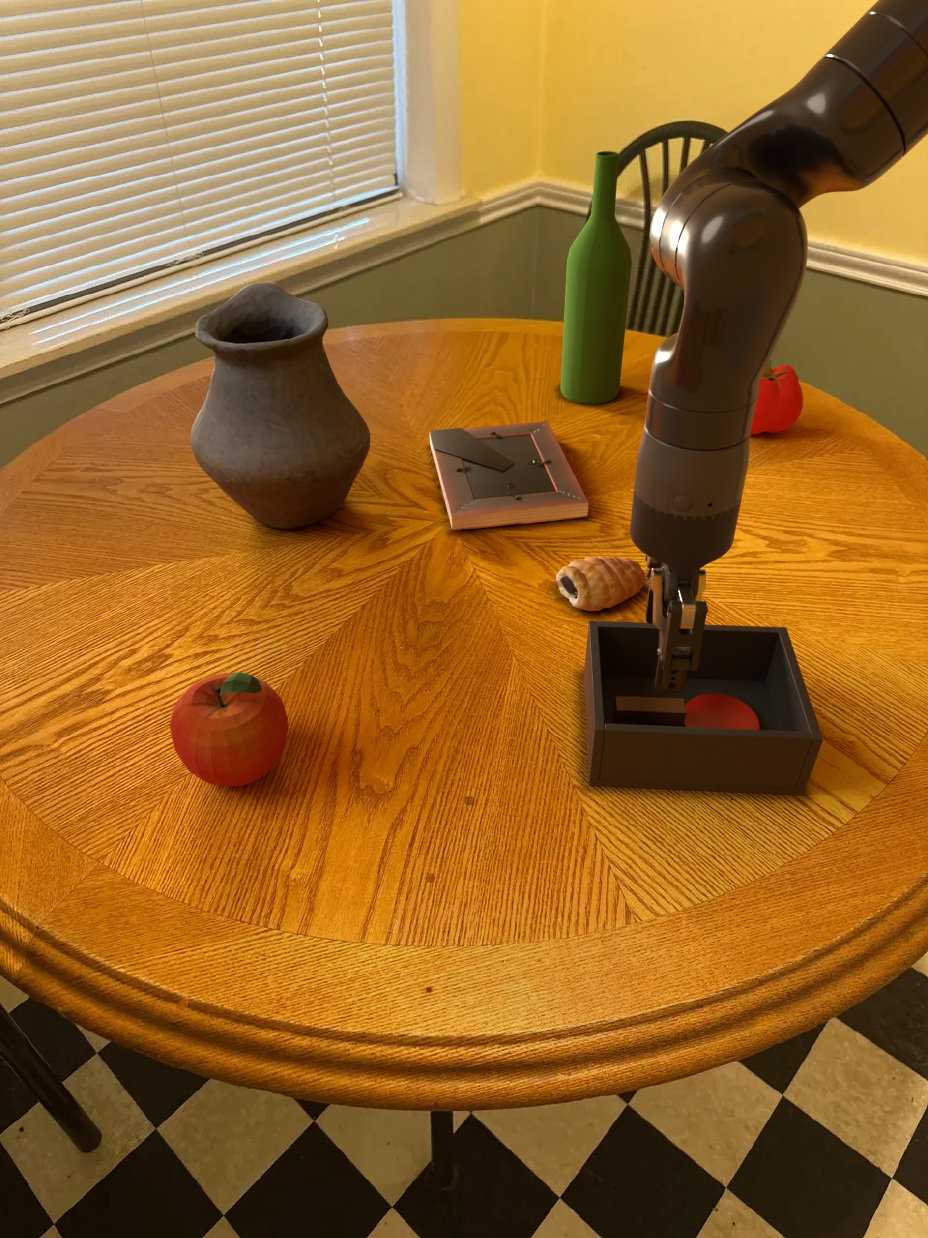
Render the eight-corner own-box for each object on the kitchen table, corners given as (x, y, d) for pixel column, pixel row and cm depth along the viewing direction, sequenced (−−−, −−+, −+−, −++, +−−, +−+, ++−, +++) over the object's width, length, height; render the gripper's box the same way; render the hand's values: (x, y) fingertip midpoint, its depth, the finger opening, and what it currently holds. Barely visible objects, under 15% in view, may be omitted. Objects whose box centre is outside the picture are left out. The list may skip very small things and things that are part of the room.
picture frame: (430, 446, 119) (452, 532, 102) (429, 430, 117) (451, 514, 100) (547, 435, 120) (587, 518, 104) (547, 419, 119) (588, 500, 102)
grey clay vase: (207, 565, 98) (152, 352, 82) (211, 472, 114) (165, 280, 99) (386, 541, 101) (367, 331, 85) (364, 453, 117) (345, 264, 102)
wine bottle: (621, 381, 134) (645, 146, 113) (616, 406, 127) (640, 161, 106) (564, 377, 135) (577, 144, 115) (556, 401, 129) (568, 159, 108)
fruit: (205, 719, 79) (180, 636, 73) (306, 725, 78) (290, 642, 72) (166, 802, 72) (135, 718, 65) (278, 810, 71) (257, 726, 65)
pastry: (623, 563, 97) (627, 535, 94) (657, 597, 92) (662, 568, 89) (550, 585, 94) (551, 556, 91) (581, 621, 89) (584, 592, 87)
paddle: (750, 701, 78) (755, 682, 77) (764, 755, 73) (770, 736, 72) (611, 695, 79) (613, 676, 78) (615, 749, 74) (618, 730, 73)
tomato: (702, 427, 121) (712, 368, 116) (746, 403, 127) (758, 346, 121) (768, 454, 115) (781, 393, 110) (811, 427, 121) (826, 368, 115)
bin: (770, 681, 81) (786, 626, 77) (803, 795, 71) (823, 739, 67) (583, 674, 83) (588, 620, 78) (588, 785, 72) (594, 729, 68)
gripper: (761, 542, 55) (722, 718, 66) (726, 436, 66) (697, 601, 77) (643, 540, 56) (622, 715, 66) (627, 436, 67) (612, 600, 77)
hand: (662, 654), depth 71 cm, fingers open, 8 cm apart
